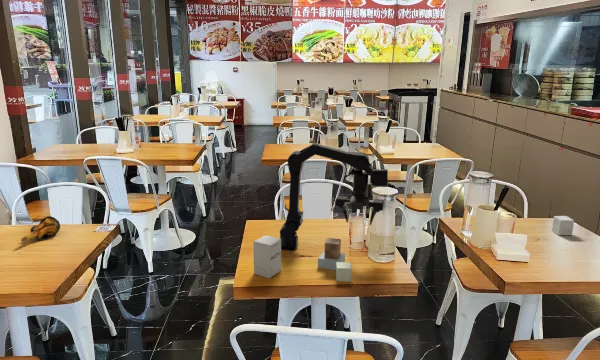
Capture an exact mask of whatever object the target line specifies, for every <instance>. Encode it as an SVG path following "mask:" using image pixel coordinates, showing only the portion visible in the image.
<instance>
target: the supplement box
mask: <svg viewBox="0 0 600 360" xmlns="http://www.w3.org/2000/svg"><path fill="white" fill-rule="evenodd" d="M281 271H282V249H281V239H280V237H279V238H278V237H276V236H275V237H273V236H271V235H270V236H269V235H267V234H266V235H265V234H264V235H263V236H262V237H260V238H258V239H255V240H253V273H254V274H255V275H258V276H261V277H263V278H267V279H271V278H272V277H273V276H274V275H275V276H276V275H277V274H278V273H279V272H281Z"/></svg>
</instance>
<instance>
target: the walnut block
mask: <svg viewBox="0 0 600 360" xmlns="http://www.w3.org/2000/svg"><path fill="white" fill-rule="evenodd" d="M341 242H342V240H341V238H333V237H327V239H326V240H325V242H324V251H325V255H324V258H330V259H338V258H339V256H340V253H341V250H342V249H341V246H342V245H341Z"/></svg>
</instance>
